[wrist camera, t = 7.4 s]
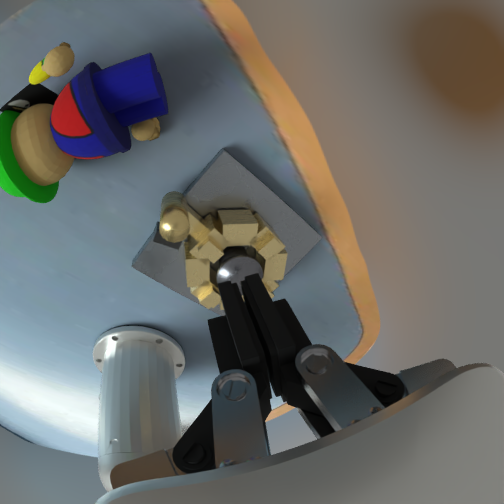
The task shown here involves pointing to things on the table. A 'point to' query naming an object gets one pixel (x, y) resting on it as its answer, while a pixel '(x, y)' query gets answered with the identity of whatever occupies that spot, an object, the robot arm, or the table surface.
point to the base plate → (209, 202)
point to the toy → (75, 120)
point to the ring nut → (219, 244)
